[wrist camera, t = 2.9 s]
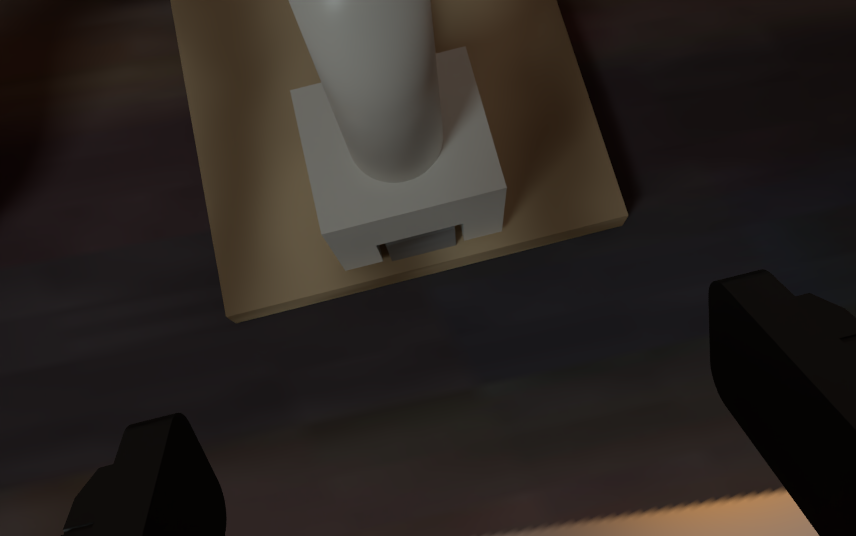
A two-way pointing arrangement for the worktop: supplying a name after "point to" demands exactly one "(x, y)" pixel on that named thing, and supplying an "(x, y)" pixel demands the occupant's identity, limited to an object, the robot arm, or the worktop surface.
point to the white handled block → (392, 129)
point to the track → (287, 172)
